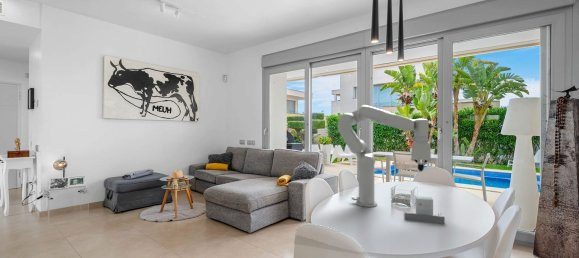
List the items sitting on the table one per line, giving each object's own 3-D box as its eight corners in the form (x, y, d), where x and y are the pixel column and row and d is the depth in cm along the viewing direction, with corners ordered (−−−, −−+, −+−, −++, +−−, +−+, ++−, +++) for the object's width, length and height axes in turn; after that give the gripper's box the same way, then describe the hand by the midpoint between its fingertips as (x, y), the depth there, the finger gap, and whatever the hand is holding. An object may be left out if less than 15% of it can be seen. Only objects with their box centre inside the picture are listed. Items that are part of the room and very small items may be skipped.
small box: (431, 216, 152) (431, 197, 152) (433, 219, 146) (433, 199, 146) (415, 214, 154) (415, 195, 154) (416, 218, 149) (416, 198, 149)
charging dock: (404, 219, 146) (404, 212, 146) (404, 212, 159) (404, 206, 159) (444, 223, 140) (444, 216, 140) (440, 216, 152) (440, 209, 152)
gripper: (407, 139, 163) (407, 171, 163) (436, 140, 157) (435, 172, 157) (407, 139, 170) (406, 169, 170) (434, 139, 164) (434, 171, 164)
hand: (420, 171), depth 164 cm, fingers closed
